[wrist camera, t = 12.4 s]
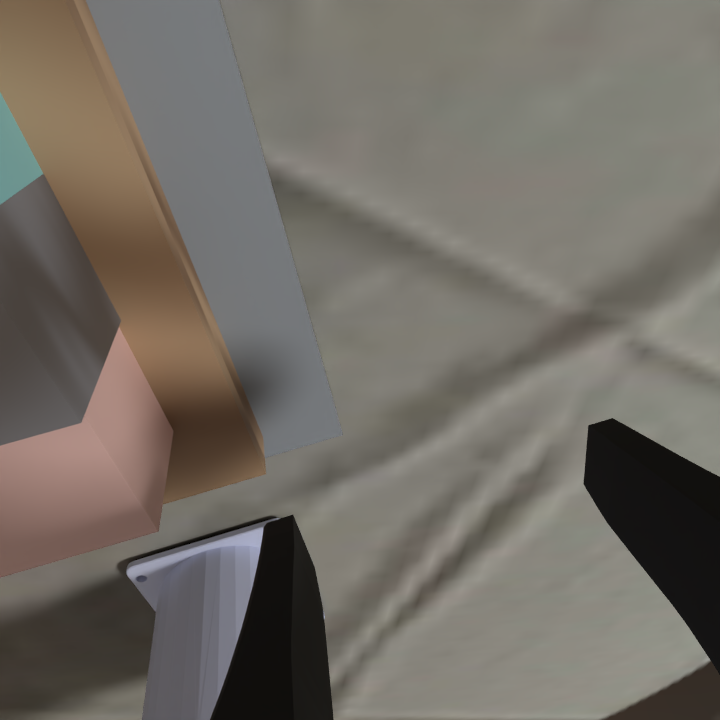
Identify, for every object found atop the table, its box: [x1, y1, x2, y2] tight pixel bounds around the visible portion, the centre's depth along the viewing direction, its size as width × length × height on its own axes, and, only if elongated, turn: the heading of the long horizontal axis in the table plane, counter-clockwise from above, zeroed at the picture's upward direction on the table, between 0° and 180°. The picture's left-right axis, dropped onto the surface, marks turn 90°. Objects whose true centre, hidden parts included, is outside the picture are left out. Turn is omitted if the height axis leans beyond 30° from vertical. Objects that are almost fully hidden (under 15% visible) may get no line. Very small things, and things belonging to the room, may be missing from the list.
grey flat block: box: [86, 0, 343, 458], centre depth 15 cm, size 20×14×3 cm
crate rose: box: [0, 328, 173, 577], centre depth 13 cm, size 4×4×4 cm
